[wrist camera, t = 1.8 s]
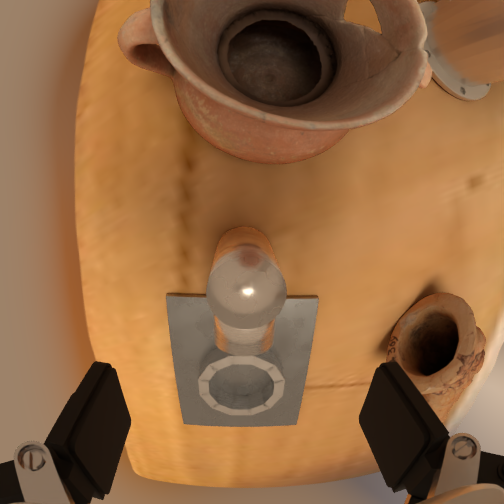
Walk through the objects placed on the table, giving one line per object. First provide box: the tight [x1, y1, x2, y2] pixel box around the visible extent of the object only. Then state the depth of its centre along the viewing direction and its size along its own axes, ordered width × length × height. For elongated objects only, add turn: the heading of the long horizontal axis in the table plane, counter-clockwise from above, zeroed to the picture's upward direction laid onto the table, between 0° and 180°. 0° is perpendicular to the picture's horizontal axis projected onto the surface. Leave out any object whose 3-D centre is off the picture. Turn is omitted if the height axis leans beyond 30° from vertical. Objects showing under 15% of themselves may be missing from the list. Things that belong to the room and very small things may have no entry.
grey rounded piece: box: [206, 226, 287, 356], centre depth 22 cm, size 7×5×8 cm, turn 178°
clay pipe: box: [386, 293, 486, 423], centre depth 26 cm, size 19×11×15 cm
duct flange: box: [166, 293, 319, 427], centre depth 28 cm, size 18×14×3 cm
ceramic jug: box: [117, 0, 432, 164], centre depth 14 cm, size 18×14×14 cm
